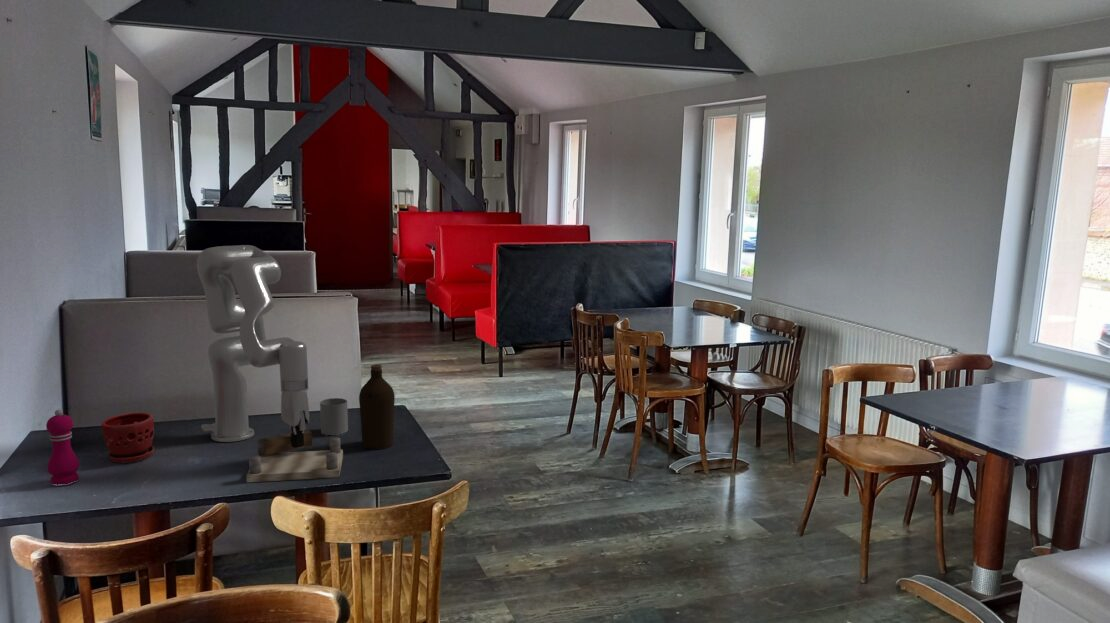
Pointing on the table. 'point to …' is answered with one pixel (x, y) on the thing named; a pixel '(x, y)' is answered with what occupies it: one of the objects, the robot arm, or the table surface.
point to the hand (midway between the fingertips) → (297, 446)
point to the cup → (334, 416)
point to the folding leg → (281, 443)
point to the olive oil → (377, 411)
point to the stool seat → (297, 464)
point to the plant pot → (129, 437)
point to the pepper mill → (62, 450)
